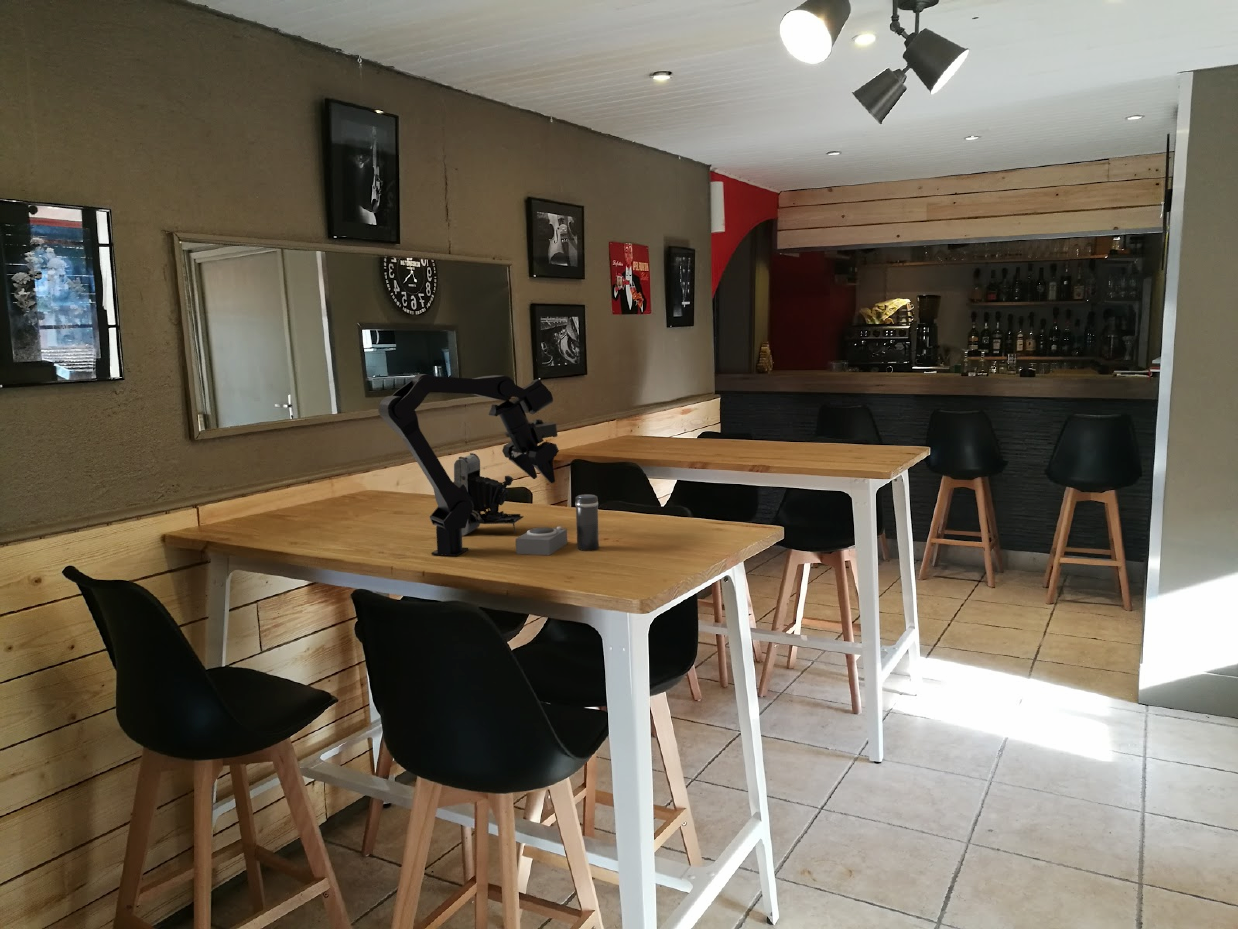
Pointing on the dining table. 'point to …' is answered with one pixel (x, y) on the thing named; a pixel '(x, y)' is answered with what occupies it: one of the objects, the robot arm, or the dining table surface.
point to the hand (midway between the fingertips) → (544, 480)
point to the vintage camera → (483, 494)
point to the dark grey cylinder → (587, 522)
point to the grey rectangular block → (541, 541)
